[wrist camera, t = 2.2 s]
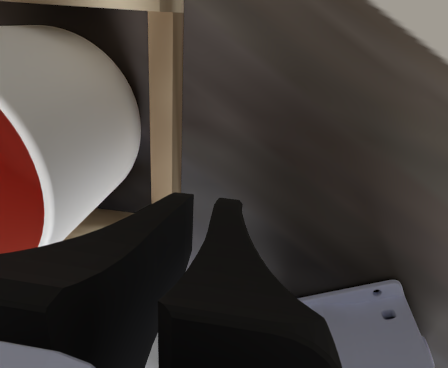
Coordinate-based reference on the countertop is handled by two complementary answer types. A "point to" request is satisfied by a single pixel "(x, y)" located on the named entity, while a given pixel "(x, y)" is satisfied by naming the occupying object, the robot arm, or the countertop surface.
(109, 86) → the cup
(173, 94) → the bay
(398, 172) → the countertop surface
